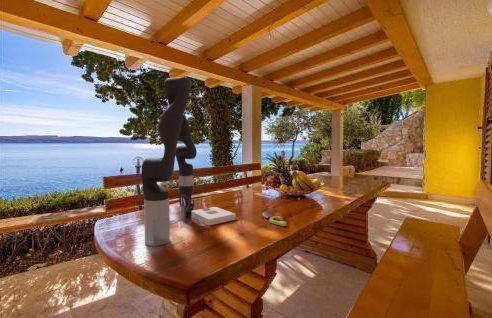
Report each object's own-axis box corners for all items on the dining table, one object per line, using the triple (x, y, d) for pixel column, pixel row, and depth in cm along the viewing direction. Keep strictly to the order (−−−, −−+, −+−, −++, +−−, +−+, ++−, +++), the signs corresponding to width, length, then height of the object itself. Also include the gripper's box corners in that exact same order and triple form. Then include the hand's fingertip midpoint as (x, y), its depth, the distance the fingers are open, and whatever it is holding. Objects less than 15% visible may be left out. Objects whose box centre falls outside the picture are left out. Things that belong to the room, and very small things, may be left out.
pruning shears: (256, 214, 134) (277, 228, 111) (256, 210, 134) (277, 222, 111) (268, 213, 137) (291, 226, 113) (268, 209, 137) (291, 221, 113)
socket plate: (235, 219, 124) (235, 212, 124) (208, 225, 114) (208, 218, 114) (215, 211, 139) (215, 205, 139) (190, 216, 129) (190, 209, 129)
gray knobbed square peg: (191, 220, 121) (191, 202, 121) (184, 222, 119) (184, 203, 118) (188, 219, 124) (188, 201, 124) (181, 220, 122) (181, 202, 122)
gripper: (173, 183, 124) (174, 215, 125) (185, 186, 113) (185, 222, 114) (187, 182, 129) (187, 213, 129) (199, 185, 118) (199, 219, 118)
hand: (186, 217), depth 121 cm, fingers open, 4 cm apart
